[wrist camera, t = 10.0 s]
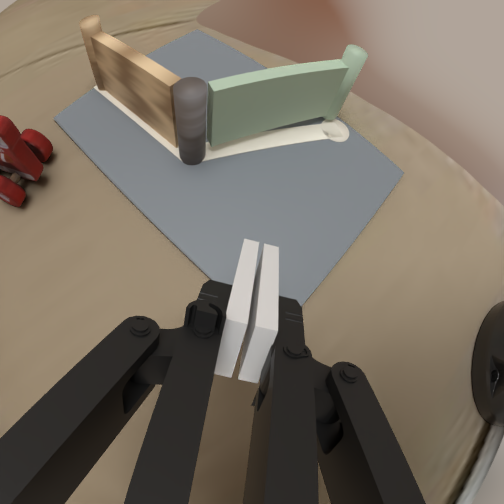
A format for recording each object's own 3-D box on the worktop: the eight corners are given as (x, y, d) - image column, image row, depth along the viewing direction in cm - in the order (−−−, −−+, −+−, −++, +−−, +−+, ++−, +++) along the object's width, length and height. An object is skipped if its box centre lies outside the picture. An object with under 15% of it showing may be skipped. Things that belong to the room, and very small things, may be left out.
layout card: (402, 174, 31) (404, 172, 31) (273, 337, 25) (275, 336, 24) (197, 31, 35) (197, 28, 35) (54, 120, 28) (52, 117, 28)
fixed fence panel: (210, 156, 29) (214, 77, 19) (191, 172, 28) (187, 93, 19) (110, 79, 31) (95, 12, 21) (94, 90, 30) (74, 23, 21)
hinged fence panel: (212, 153, 28) (217, 79, 19) (204, 137, 28) (206, 64, 20) (340, 118, 31) (372, 57, 23) (330, 105, 32) (358, 44, 23)
